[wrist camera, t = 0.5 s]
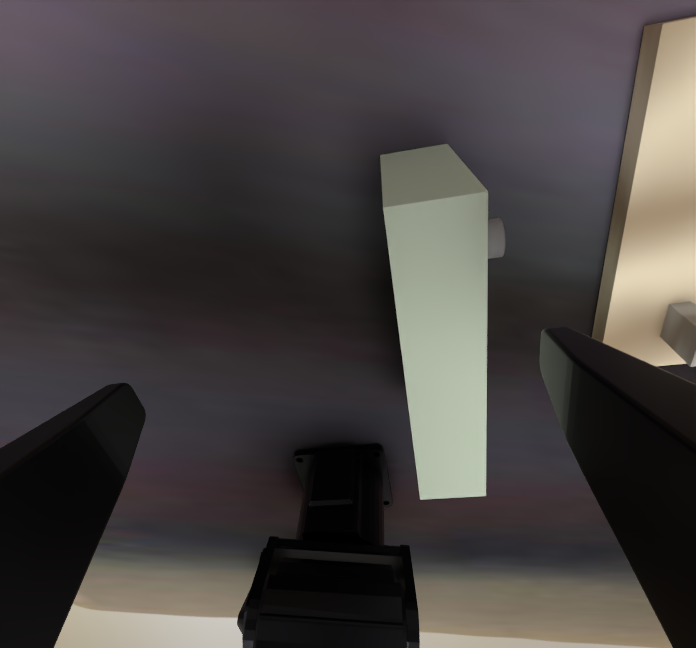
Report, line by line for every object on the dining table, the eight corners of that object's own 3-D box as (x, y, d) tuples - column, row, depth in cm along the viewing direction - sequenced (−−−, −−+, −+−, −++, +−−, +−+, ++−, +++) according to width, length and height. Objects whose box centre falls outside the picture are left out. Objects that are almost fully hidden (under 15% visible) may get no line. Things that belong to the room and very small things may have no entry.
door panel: (473, 380, 26) (508, 494, 19) (408, 386, 26) (420, 499, 20) (469, 139, 18) (524, 185, 12) (380, 154, 19) (383, 207, 12)
